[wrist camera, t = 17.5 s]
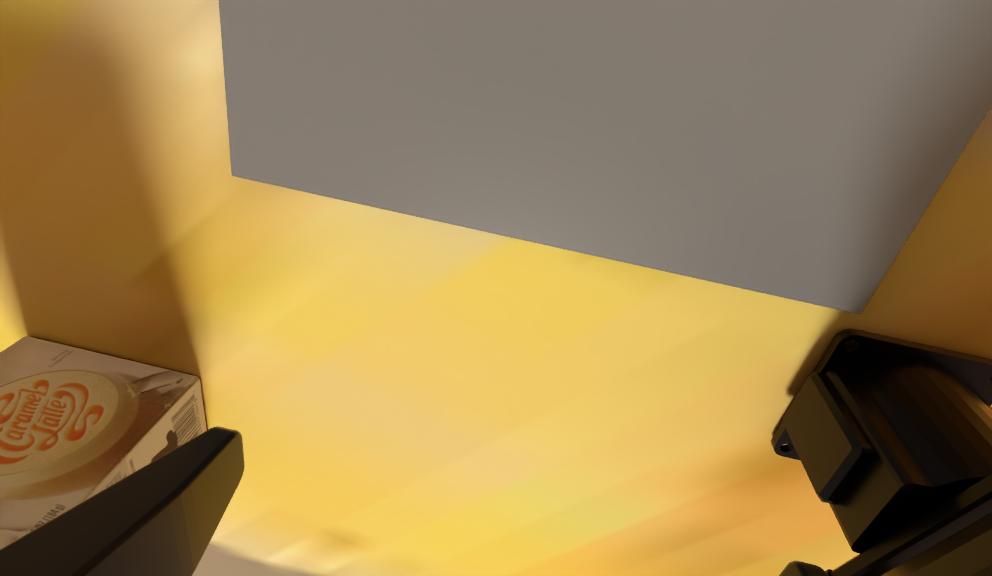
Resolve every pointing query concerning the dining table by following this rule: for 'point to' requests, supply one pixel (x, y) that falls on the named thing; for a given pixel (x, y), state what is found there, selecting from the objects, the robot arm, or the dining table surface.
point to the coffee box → (82, 426)
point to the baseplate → (624, 123)
